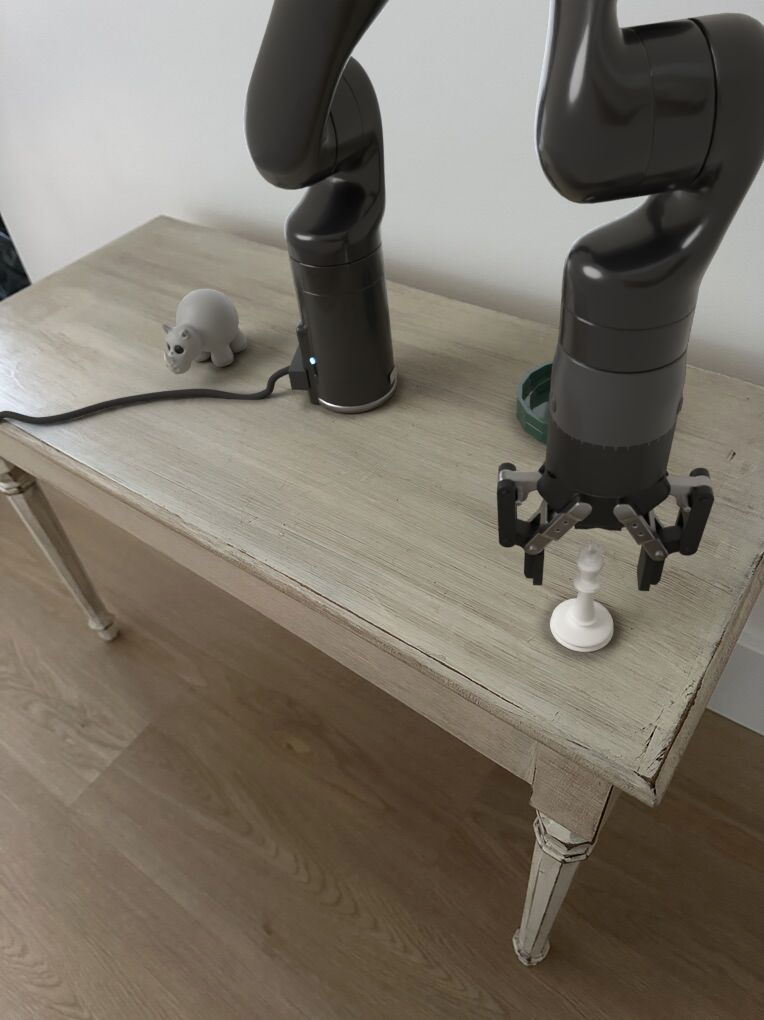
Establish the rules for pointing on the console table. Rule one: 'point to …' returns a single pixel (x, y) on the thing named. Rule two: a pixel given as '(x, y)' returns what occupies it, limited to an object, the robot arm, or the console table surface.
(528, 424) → the dish
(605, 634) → the chess piece
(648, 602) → the console table surface
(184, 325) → the chubby cartoon animal
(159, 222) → the console table surface
